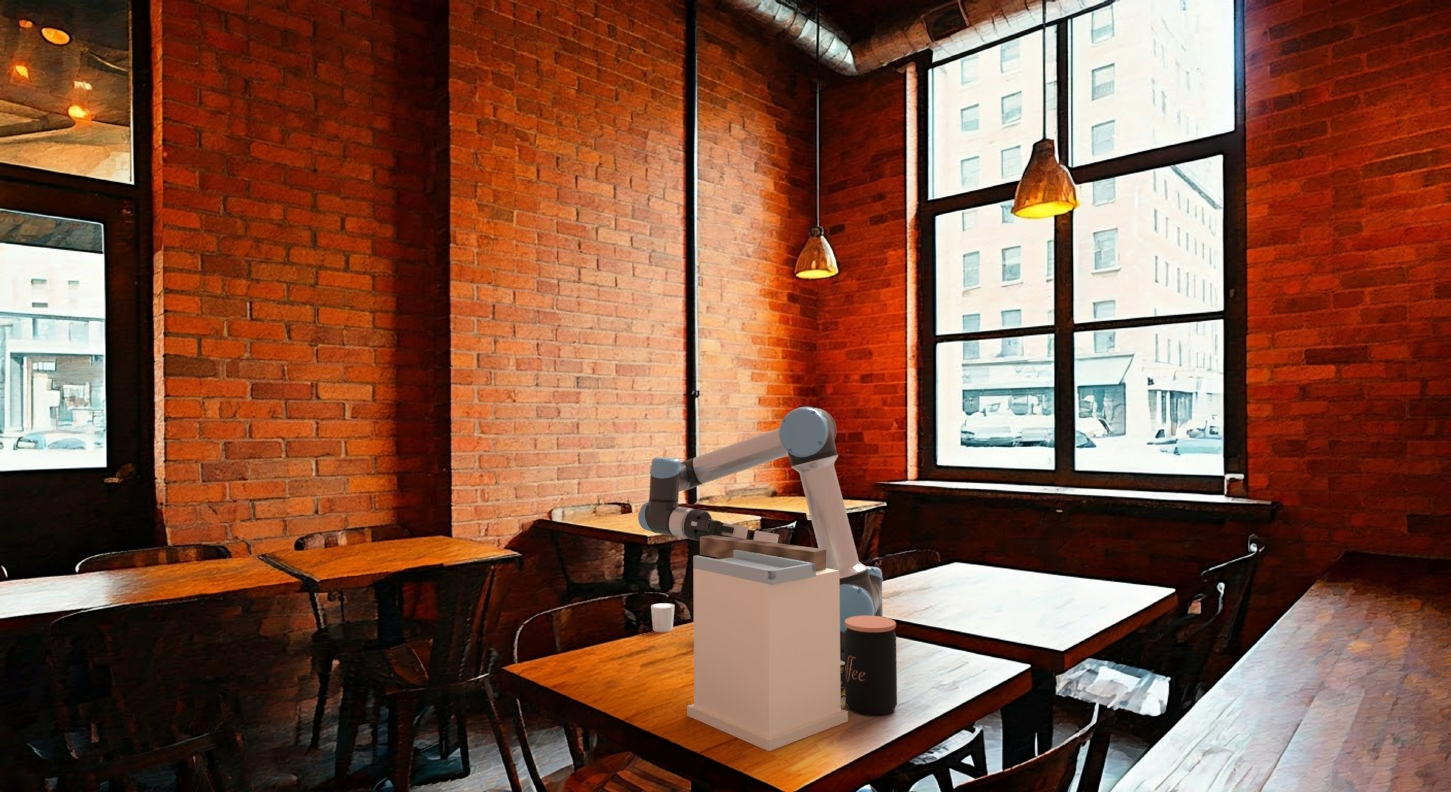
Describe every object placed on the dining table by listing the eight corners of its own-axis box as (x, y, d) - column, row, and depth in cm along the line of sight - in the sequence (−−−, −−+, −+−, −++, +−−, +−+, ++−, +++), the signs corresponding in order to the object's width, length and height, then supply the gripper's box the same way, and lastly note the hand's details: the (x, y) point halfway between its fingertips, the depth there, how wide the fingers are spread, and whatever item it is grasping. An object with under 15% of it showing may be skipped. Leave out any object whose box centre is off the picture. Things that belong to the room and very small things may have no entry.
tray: (693, 568, 166) (693, 556, 166) (736, 561, 174) (736, 549, 174) (771, 585, 149) (771, 571, 149) (816, 576, 156) (815, 563, 157)
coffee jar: (840, 700, 174) (839, 616, 174) (888, 698, 175) (887, 614, 175) (852, 718, 163) (851, 628, 164) (903, 716, 164) (902, 627, 165)
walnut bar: (699, 554, 183) (699, 536, 183) (712, 552, 186) (711, 534, 186) (814, 572, 161) (814, 551, 161) (826, 569, 164) (826, 549, 164)
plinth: (687, 715, 165) (686, 568, 166) (764, 691, 180) (763, 555, 180) (768, 751, 147) (767, 585, 148) (847, 721, 161) (846, 570, 162)
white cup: (671, 633, 229) (671, 608, 229) (647, 632, 231) (647, 607, 231) (677, 627, 236) (677, 603, 236) (654, 626, 237) (654, 602, 238)
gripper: (717, 544, 210) (786, 557, 198) (657, 532, 191) (729, 546, 178) (723, 516, 212) (791, 527, 199) (663, 501, 192) (735, 513, 180)
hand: (762, 536), depth 189 cm, fingers open, 13 cm apart
